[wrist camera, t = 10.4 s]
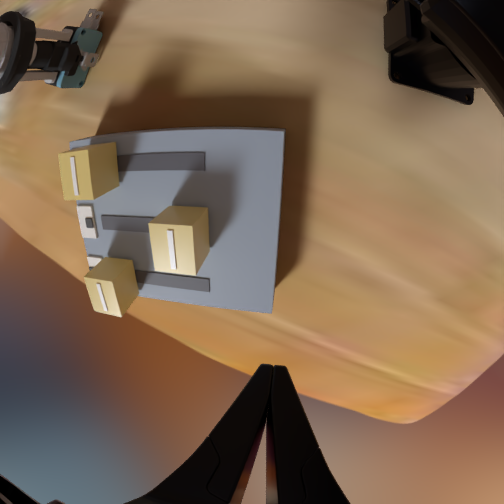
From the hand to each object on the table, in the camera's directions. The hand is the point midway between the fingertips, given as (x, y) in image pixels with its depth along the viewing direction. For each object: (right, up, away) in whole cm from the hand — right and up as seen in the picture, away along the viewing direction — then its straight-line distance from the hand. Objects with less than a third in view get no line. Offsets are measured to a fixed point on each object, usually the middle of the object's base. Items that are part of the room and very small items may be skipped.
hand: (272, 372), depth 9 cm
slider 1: (-10, +9, +7) cm, 15 cm away
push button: (-13, +19, +6) cm, 24 cm away
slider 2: (-10, +2, +10) cm, 15 cm away
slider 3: (-4, +5, +8) cm, 11 cm away
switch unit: (-6, +7, +11) cm, 14 cm away
